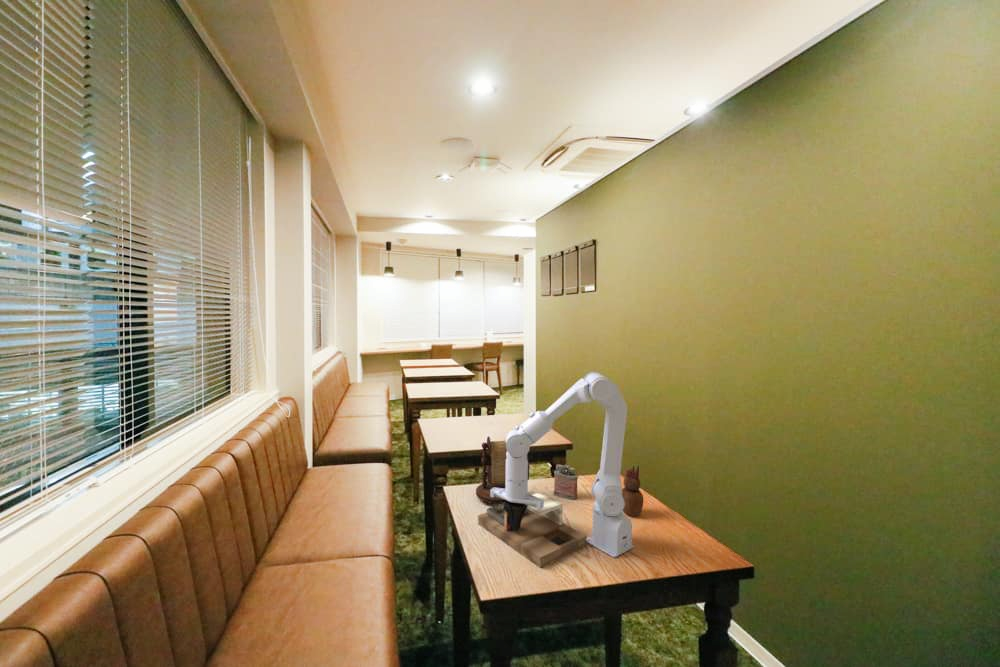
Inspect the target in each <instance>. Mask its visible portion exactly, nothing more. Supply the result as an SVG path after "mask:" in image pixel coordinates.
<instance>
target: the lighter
mask: <svg viewBox="0 0 1000 667" xmlns="http://www.w3.org/2000/svg"><path fill="white" fill-rule="evenodd" d="M555 469H557V470H554V471H553V474H554V484H553V485H554V486H553V487H554V489H553V490H554V491H553V495H554V496H555V497H559V498H562V499H566V500H570V501H571V500H572V501H577V500H578V498H579V497H578V478H579V475H578V474H576V473H575V468H574V467H570V465H562V464H558V463H557V464H556V466H555Z"/></svg>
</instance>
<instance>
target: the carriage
mask: <svg viewBox="0 0 1000 667" xmlns="http://www.w3.org/2000/svg"><path fill="white" fill-rule="evenodd" d="M504 504H505V503H499V504H498V505H494V506H492V507H488V508H486V512H487V514H488V515H489V516H491V517H492V518H494V519H495V520H497V521H498V522H500V523H501V524H503V525H504V529H506V530H508V529H511V528H512V527H511V523H510V519H509V517H508V514H507V513H505V514H504V515H500V514H499V513H497V512H499V511H502V510H505V509H504ZM527 513H530V510H529V509H527V508H526V510H525V512H524V514H527Z"/></svg>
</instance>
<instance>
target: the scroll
mask: <svg viewBox="0 0 1000 667" xmlns="http://www.w3.org/2000/svg"><path fill="white" fill-rule="evenodd" d="M481 448H482V453H481V454H482V455H481V456H482V457H481V465H482V467H481V468H482V469H481V470H482V472H481V479H482V482H481V484H479V485H477V487H476V489H475V494H476V497H477V498H478V499H479V500H480V501H483V502H485V503H484V504H485V506H488V505H489V503H491V504H503V503H506V500H505V499H502V498H498V497H490V490H491V489H492V488H494V487H496V488H503V489H505V483H506V459H507V458H506V452H507V449H506V442H505V440H494V441H491V438H490V436H489V435H488V436H487V438H486V442H483V443H481ZM488 455H489V456H490V457H488ZM488 463H490V464H491V466H490V464H488Z"/></svg>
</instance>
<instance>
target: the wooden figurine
mask: <svg viewBox="0 0 1000 667" xmlns="http://www.w3.org/2000/svg"><path fill="white" fill-rule="evenodd" d="M639 473H640V466H639V465H637V467H636V469H635V466H634V465H633V466H632V468H629V470H626V475H625V476H624V479H623V486H624V487H622V496H623V498H624V502H625V505H624V509H623V510H622V512H623V514H624V515H627V516H629V517H631V518H632V517H638V516H640V515H641V513H642V511H643V507H644V495H643V493H642V492H641V490H640V487H641V479H640V478H639V476H640V474H639Z"/></svg>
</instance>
